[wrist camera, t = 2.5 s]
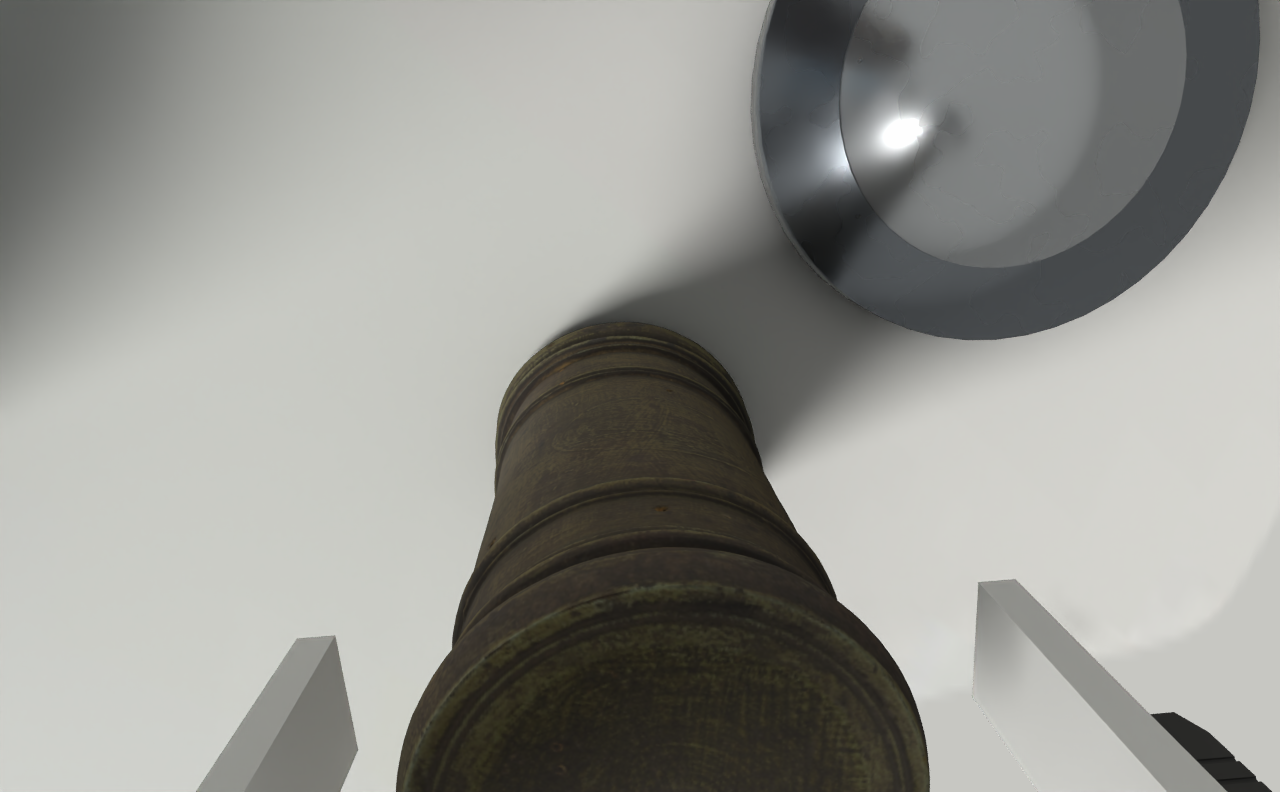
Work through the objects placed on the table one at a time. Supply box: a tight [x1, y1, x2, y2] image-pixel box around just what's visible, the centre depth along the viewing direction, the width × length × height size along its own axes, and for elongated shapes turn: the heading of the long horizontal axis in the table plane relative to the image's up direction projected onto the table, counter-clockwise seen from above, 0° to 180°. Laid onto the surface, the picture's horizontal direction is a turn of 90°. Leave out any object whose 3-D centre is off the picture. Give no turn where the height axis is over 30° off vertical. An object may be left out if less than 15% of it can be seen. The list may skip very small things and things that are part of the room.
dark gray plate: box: [751, 0, 1260, 340], centre depth 26 cm, size 16×16×2 cm
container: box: [396, 322, 930, 792], centre depth 21 cm, size 9×9×18 cm
